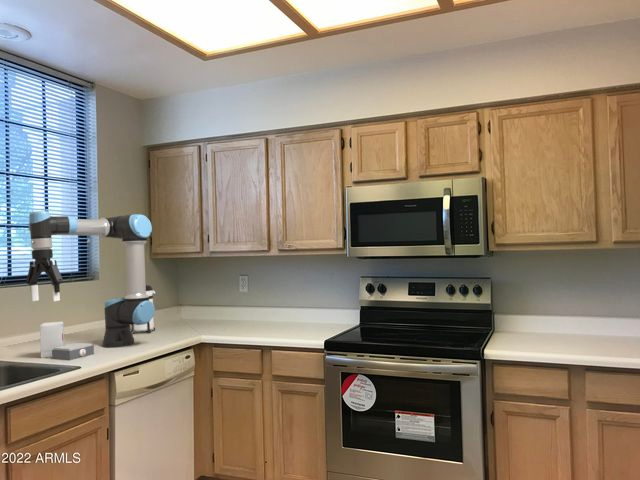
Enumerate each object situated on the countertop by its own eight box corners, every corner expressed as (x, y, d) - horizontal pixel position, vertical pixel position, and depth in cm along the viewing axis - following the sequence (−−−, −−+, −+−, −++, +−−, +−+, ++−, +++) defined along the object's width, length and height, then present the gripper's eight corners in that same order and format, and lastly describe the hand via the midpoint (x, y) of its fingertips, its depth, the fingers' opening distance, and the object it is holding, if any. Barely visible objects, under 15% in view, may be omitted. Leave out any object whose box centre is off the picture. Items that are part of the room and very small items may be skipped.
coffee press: (148, 329, 307) (146, 279, 307) (161, 331, 296) (159, 279, 296) (119, 333, 295) (117, 281, 295) (132, 336, 284) (130, 281, 284)
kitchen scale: (76, 352, 242) (76, 342, 242) (95, 354, 237) (94, 343, 237) (52, 358, 230) (51, 348, 230) (71, 360, 225) (70, 349, 225)
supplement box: (62, 356, 235) (61, 323, 235) (40, 358, 232) (39, 325, 232) (65, 352, 243) (64, 321, 243) (43, 354, 240) (42, 322, 240)
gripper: (14, 250, 213) (18, 302, 213) (53, 248, 201) (56, 302, 202) (31, 249, 220) (35, 299, 220) (70, 247, 208) (73, 299, 208)
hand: (45, 300), depth 211 cm, fingers open, 13 cm apart
